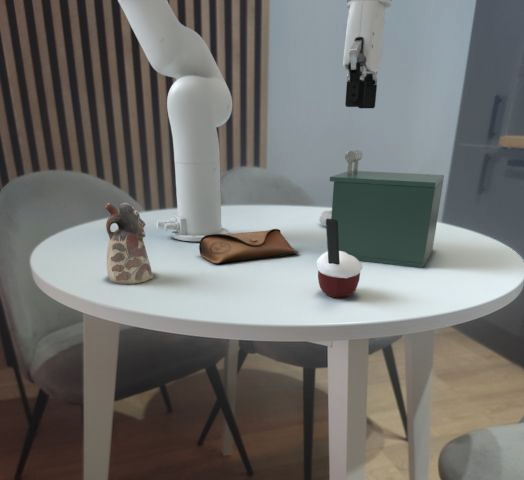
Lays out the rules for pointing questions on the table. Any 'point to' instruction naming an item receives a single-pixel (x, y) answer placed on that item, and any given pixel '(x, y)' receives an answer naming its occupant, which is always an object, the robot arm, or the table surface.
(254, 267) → the table surface
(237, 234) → the sunglasses case
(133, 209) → the figurine
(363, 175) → the bin lid
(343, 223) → the trash bin
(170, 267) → the table surface
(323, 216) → the donut
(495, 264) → the table surface
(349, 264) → the cocoa
